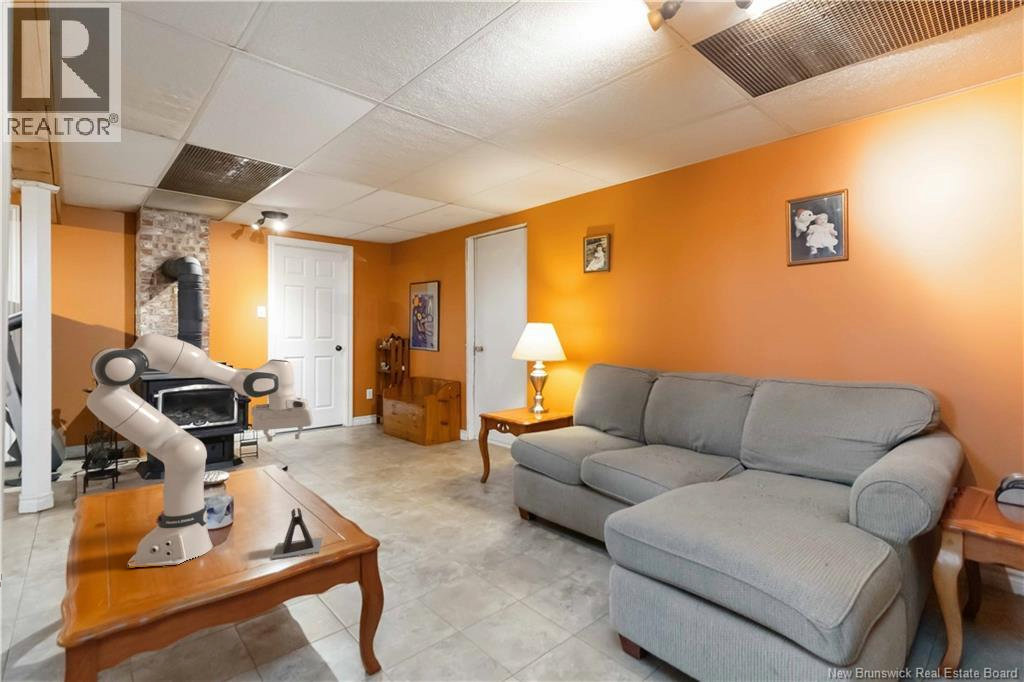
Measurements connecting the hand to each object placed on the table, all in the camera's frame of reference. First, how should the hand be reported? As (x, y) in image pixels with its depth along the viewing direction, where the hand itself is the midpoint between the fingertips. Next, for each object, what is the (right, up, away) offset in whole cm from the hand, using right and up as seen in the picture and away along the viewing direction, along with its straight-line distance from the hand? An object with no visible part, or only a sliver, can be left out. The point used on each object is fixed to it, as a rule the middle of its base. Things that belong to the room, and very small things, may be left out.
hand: (283, 440), depth 181 cm
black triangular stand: (+14, -31, -20) cm, 40 cm away
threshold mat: (+14, -32, -20) cm, 40 cm away
